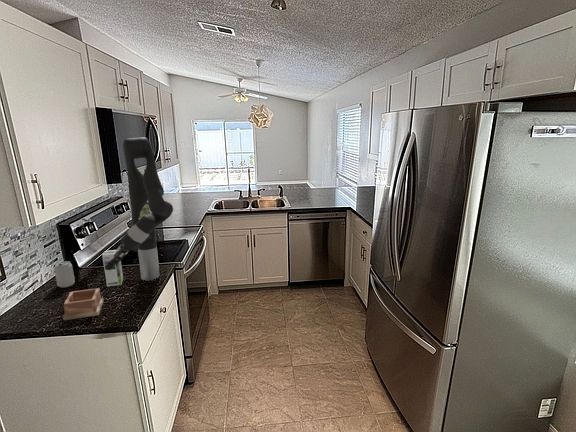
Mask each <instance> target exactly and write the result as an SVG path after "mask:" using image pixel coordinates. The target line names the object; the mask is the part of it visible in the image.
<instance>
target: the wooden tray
mask: <svg viewBox="0 0 576 432" xmlns="http://www.w3.org/2000/svg"><path fill="white" fill-rule="evenodd" d="M103 304H104V297H101V290H100V287H98V288H89V289H82V290H80V289H79V290H74V291H70V292H69V294H68V295H67V298H66V299H65V301H64V303H63V309H64V315H63V317H62V319H63V321H69V320H76V319H81V318H82V319H83V318H87V317H88V318H89V317H94V316H99V315H100V313H101V309H102V306H103Z"/></svg>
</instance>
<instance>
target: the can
mask: <svg viewBox="0 0 576 432" xmlns="http://www.w3.org/2000/svg"><path fill="white" fill-rule="evenodd" d="M73 268H74V267H73V264H72V263H71V261H69V260H68V261H67V260H65V261H59V262H57V263H55V265H54V267H53V269H54V275H55V280H56V281H55V282H56V284H57V287H58V288H69V287H72V286H73V285H74V284H75V282H76V281H75V275H74V269H73Z"/></svg>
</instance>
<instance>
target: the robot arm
mask: <svg viewBox="0 0 576 432" xmlns="http://www.w3.org/2000/svg"><path fill="white" fill-rule="evenodd" d="M122 148H123V153H124V160H125V165H126V173H127V180H128V181H127V184H128V196H129V201H130V209H131V211H130V212H131V227H130V228H129V229H128V231H126V233H125V234H124V235H123V236H122V237H121V238H120V242H121V243H120V245H119V246H118V247H117V248H116V249H115V250H118V251H117V252H116V253H115V254H114V257H113V259H111V261H110V262H109V263H108V264H107V265H106V266H105V268H106V269H107V270H110V269H111V268H112V267H113V266H114V265H117V264H118V263H119V262H120V261H121V262H122V260H123V259H124V258H125V257H126V256H127V254H129V250H131V251H136V250H137V252H138V262H139V270H140V271H139V272H140V279H141V280H142V281H144V280H145V281H144V282H151V281H155V280H157V279H159V278H160V277H159V276H160V275H161V274H160V265H159V263H160V262H159V256H158V255H159V254H158V247H157V246H158V245H157V237H156V236H157V235H156V227H158V226H159V225H161V224H163V223H164V222H165V221H166V220H167V219H169V218H170V217H171V215H172V214H173V212H174V207H173V205H172V204H171V203H170V202H168V201H167V200H164V197H163V196H164V194H165V190H164V187H163V185H162V182H161V179H160V177H159V174H158V169H157V164H156V161H155V156H154V153H153V149H152V145H151V143H150V140H149V139H148V137H129V138H125V139H124V140H123V143H122ZM139 159H145V160H146V166H145V169H144V172H143V173H142V172H141V171H140V169H139V168H138V167H137V165H136V163H135V160H139ZM147 201H148V205H149V208H150V210H151V212H152V213H151V214H149V215H144V216H143V217H142V218H141V217H140V216H141V215H140V212H141V210H142V209H143V207H144V206H145V204H146V203H147ZM115 259H117V261H115ZM158 277H159V278H158ZM156 278H157V279H156ZM154 279H155V280H154ZM150 280H151V281H150Z"/></svg>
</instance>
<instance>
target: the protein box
mask: <svg viewBox="0 0 576 432" xmlns="http://www.w3.org/2000/svg"><path fill="white" fill-rule="evenodd" d="M151 213H152V212H151V210H150V208H149V205H148V201H147V203H146V204H145V206H144V207H143V209H142V210H141V212H140V215H139V216H140V218H142V217H143V216H144V215H149V214H151Z"/></svg>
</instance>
